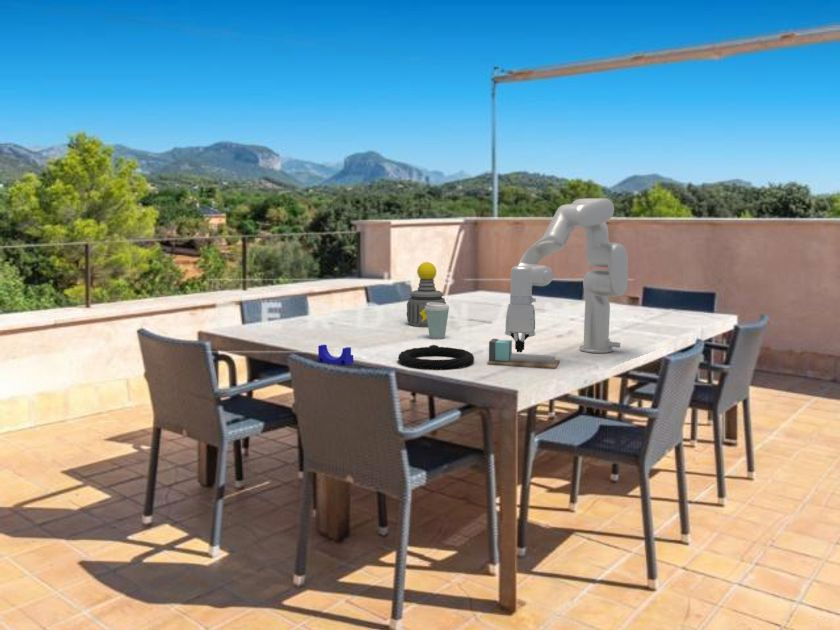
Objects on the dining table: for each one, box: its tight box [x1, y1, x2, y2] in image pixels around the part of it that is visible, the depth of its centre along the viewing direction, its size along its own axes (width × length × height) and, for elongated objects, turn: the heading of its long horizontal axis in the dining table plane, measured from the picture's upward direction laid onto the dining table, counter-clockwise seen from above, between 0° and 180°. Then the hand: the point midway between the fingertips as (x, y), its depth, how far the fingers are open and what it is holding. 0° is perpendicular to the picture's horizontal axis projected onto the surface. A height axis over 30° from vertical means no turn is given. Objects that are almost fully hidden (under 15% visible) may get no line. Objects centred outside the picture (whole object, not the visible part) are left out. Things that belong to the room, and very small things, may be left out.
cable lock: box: [397, 344, 475, 370], centre depth 267 cm, size 28×4×30 cm
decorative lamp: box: [406, 261, 447, 328], centre depth 352 cm, size 19×19×30 cm
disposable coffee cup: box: [425, 302, 450, 340], centre depth 315 cm, size 11×11×15 cm
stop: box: [488, 338, 499, 361], centre depth 267 cm, size 2×7×7 cm, turn 163°
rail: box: [509, 352, 556, 364], centre depth 264 cm, size 21×2×2 cm, turn 73°
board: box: [486, 359, 560, 370], centre depth 264 cm, size 24×12×1 cm, turn 73°
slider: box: [495, 339, 513, 361], centre depth 266 cm, size 5×6×6 cm
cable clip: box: [317, 344, 354, 366], centre depth 264 cm, size 12×4×6 cm, turn 62°
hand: (519, 351), depth 264 cm, fingers closed
